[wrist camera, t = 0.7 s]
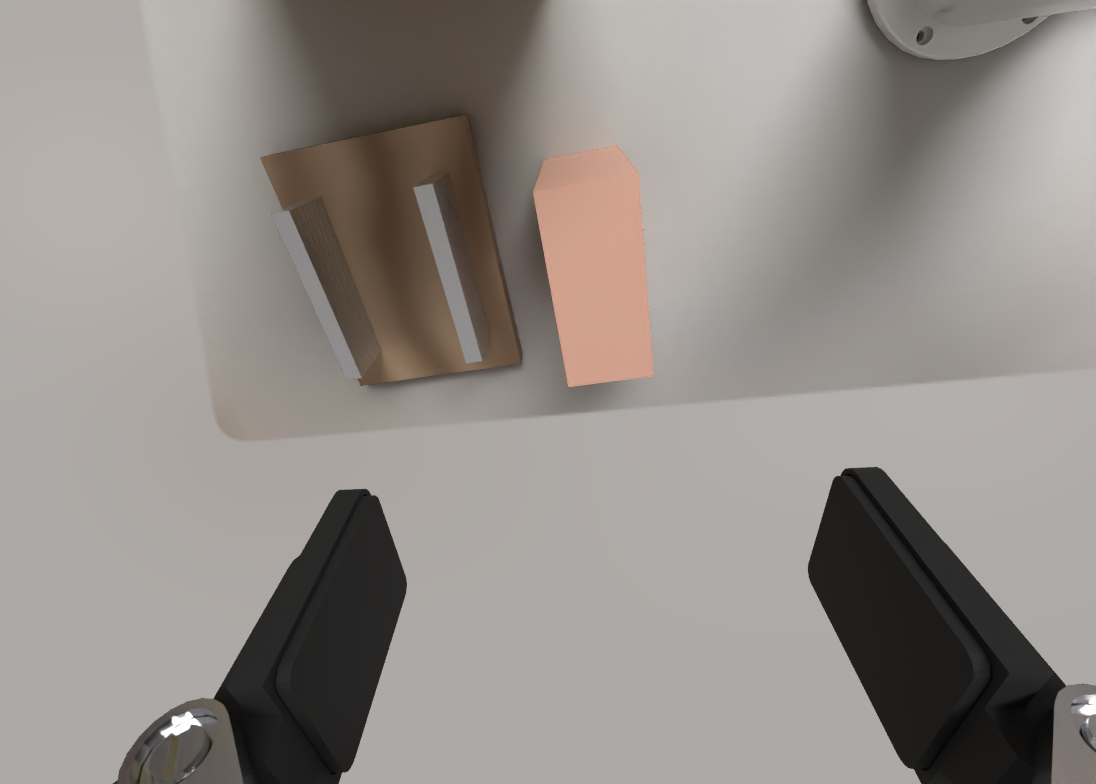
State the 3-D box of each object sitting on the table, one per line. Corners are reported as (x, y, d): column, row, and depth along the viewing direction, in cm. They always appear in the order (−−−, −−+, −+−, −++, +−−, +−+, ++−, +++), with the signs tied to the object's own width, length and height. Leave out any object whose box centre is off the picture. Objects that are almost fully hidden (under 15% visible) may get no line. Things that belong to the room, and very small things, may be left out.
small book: (617, 145, 33) (638, 172, 23) (631, 298, 39) (653, 376, 28) (544, 159, 34) (532, 192, 23) (568, 308, 39) (568, 387, 29)
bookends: (448, 171, 33) (432, 183, 29) (490, 333, 39) (482, 361, 35) (304, 199, 34) (271, 214, 30) (367, 352, 40) (346, 380, 37)
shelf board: (466, 114, 32) (462, 115, 31) (522, 355, 42) (520, 363, 40) (271, 154, 34) (260, 157, 33) (366, 376, 43) (360, 385, 42)
